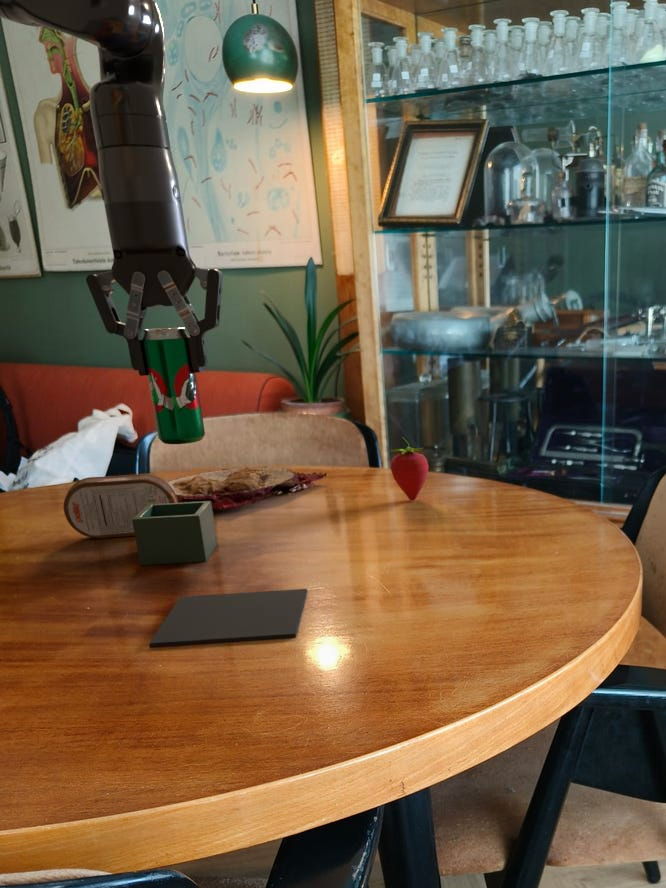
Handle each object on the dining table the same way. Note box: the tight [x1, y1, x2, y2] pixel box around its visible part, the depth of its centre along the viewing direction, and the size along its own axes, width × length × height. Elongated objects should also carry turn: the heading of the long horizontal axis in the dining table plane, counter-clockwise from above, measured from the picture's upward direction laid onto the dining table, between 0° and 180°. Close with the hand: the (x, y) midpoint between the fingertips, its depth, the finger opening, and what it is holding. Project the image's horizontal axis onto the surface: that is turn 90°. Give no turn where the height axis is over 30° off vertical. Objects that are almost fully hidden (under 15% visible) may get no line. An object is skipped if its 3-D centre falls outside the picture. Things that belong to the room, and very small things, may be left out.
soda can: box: [142, 326, 206, 445], centre depth 97 cm, size 5×5×12 cm
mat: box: [148, 588, 308, 648], centre depth 92 cm, size 14×14×1 cm
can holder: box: [132, 500, 218, 566], centre depth 114 cm, size 8×8×6 cm
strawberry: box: [389, 436, 429, 502], centre depth 138 cm, size 6×8×10 cm
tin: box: [63, 473, 178, 539], centre depth 124 cm, size 15×3×8 cm, turn 102°
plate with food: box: [167, 466, 327, 512], centre depth 149 cm, size 24×26×3 cm
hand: (171, 372), depth 96 cm, fingers closed on soda can, 5 cm apart
